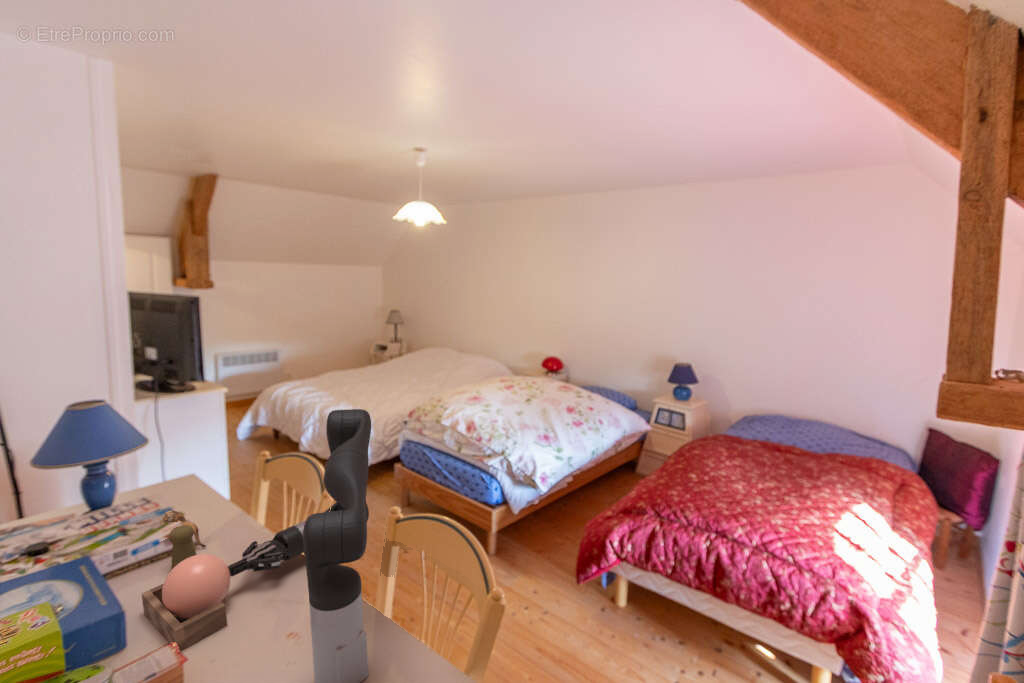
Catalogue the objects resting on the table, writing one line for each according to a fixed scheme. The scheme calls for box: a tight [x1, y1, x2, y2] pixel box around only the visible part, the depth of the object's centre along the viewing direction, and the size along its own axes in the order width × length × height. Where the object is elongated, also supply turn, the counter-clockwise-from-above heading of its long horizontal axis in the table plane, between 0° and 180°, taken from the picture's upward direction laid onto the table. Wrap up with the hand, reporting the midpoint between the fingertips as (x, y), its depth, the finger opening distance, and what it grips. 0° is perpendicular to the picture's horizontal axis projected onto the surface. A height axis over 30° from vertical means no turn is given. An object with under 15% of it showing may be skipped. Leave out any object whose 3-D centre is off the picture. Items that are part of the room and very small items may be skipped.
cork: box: [168, 525, 197, 571], centre depth 125 cm, size 6×6×11 cm
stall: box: [141, 583, 228, 652], centre depth 107 cm, size 19×10×5 cm, turn 54°
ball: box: [162, 553, 232, 620], centre depth 109 cm, size 13×13×13 cm
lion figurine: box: [158, 510, 207, 551], centre depth 136 cm, size 15×5×9 cm, turn 72°
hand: (228, 571), depth 114 cm, fingers closed
